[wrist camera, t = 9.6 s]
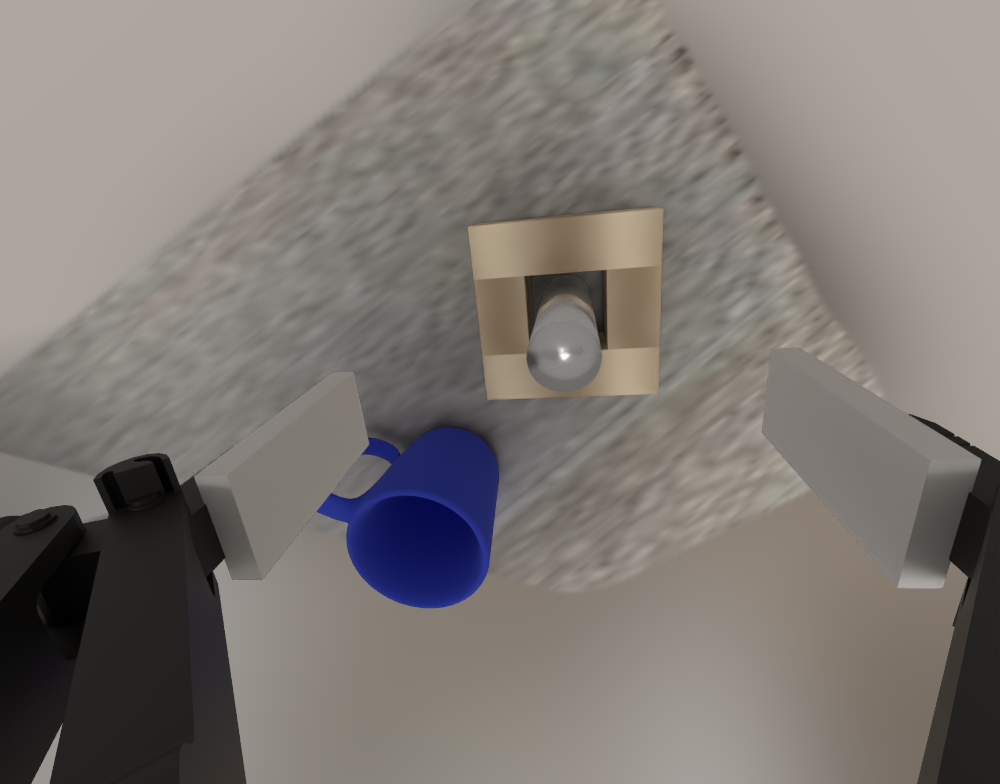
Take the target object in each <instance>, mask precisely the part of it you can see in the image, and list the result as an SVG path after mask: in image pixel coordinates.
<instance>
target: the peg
mask: <svg viewBox="0 0 1000 784" xmlns="http://www.w3.org/2000/svg"><path fill="white" fill-rule="evenodd" d="M526 360H527V365H528V369H529V371H530V373H531V375H532V376H533V378H534V379H535V380H536V381H537V382H538V383H539V384H540V385H542V386H543V387H545V388H547V389H549V390H552V391H555V392H573V391H576V390H579V389H581V388H583V387H585V386H586V385H588V384H589V383H590V382H591V381H592V380H593V379H594V378H595V377H596V375H597V373H598V371H599V369H600V366H601V362H602V351H601V346H600V341H599V336H598V331H597V325H596V320H595V315H594V310H593V305H592V300H591V295H590V291H589V288H588V286H587V285H586V284H585V282H584V281H582V280H581V279H580V278H578V277H576V276H572V275H562V276H559V277H556V278H554V279H553V280H552V281H550V282H549V284H548V285H547V286H546V288H545V290H544V293H543V296H542V300H541V303H540V307H539V310H538V314H537V317H536V321H535V324H534V328H533V331H532V335H531V338H530V342H529V345H528V349H527V354H526Z"/></svg>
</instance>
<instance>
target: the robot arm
mask: <svg viewBox="0 0 1000 784" xmlns="http://www.w3.org/2000/svg"><path fill="white" fill-rule="evenodd" d="M762 433H763V435H764V436H765V437H766V438H767V439H768V440H769V441H770V443H771V444H772V445H773V446H774V447H775V448H776V449H777V451H778V452H779V453H780V454H781V455H782V456H783V457H784V459H785V460H786V461H787V462H788V463H789V464H790V466H791V467H792V468H793V469H794V470H795V471H796V472H797V474H798V475H799V476H800V477H801V478H802V479H803V480H804V482H805V483H806V484H807V485H808V486H809V487H810V488H811V490H812V491H813V492H814V493H815V494H816V495H817V496H818V498H819V499H820V500H821V501H822V502H823V503H824V504H825V506H826V507H827V508H828V509H829V510H830V511H831V513H832V514H833V515H834V516H835V517H836V518H837V519H838V521H840V523H841V524H842V525H843V526H844V527H845V528H846V530H847V531H848V532H849V533H850V534H851V535H852V537H853V538H854V539H855V540H856V541H857V542H858V543H859V545H860V546H861V547H862V548H863V549H864V550H865V552H866V553H867V554H868V555H869V556H870V557H871V558H872V560H873V561H874V562H875V563H876V564H877V565H878V566H879V567H880V569H881V570H882V571H883V572H884V573H885V574H886V576H887V577H888V578H889V579H890V580H891V581H892V582H893V584H894V585H895V586H896V587H897V588H943V585H944V582H945V578H946V575H947V572H948V568H949V565H950V562H952V563H953V564H954V565H956V566H957V567H958V568H959V569H960V570H961V571H962V572H963V573H964V574H965V575H967V576H968V579H967V582H966V585H965V589H964V592H963V595H962V598H961V601H960V604H959V607H958V610H957V613H956V616H955V619H954V622H953V626H954V627H955V628H954V632H953V636H952V641H951V645H950V649H949V653H948V657H947V661H946V666H945V670H944V674H943V678H942V682H941V686H940V691H939V695H938V699H937V703H936V707H935V711H934V716H933V720H932V724H931V728H930V732H929V737H928V741H927V745H926V749H925V753H924V757H923V762H922V766H921V770H920V774H919V778H918V782H917V784H1000V461H999V460H997V459H995V458H994V457H992V456H990V455H989V454H987V453H985V452H984V451H982V450H980V449H979V448H977V447H975V446H970V443H968V442H967V441H965V440H963V439H962V438H960V437H958V436H957V437H955V436H954V434H953V433H951V432H950V431H948V430H946V429H945V428H943V427H941V426H940V425H938V424H936V423H934V422H931V421H928V420H925V419H922V418H920V417H917V416H914V415H911V414H907V413H905V412H903V411H902V410H900V409H898V408H897V407H895V406H894V405H892V404H890V403H889V402H887V401H885V400H884V399H882V398H881V397H879V396H877V395H876V394H874V393H872V392H871V391H869V390H867V389H866V388H864V387H863V386H861V385H859V384H858V383H856V382H854V381H853V380H851V379H849V378H848V377H846V376H845V375H843V374H841V373H840V372H838V371H836V370H835V369H833V368H831V367H830V366H828V365H827V364H825V363H823V362H822V361H820V360H818V359H817V358H815V357H814V356H812V355H810V354H809V353H807V352H805V351H804V350H802V349H800V348H781V349H771V354H770V363H769V372H768V381H767V389H766V398H765V407H764V416H763V425H762ZM368 445H369V440H368V436H367V431H366V426H365V422H364V417H363V412H362V408H361V403H360V398H359V394H358V389H357V384H356V380H355V375H354V371H351V372H332V373H331V374H330V375H328V376H327V377H326V378H324V379H323V380H322V381H320V382H319V383H318V384H316V385H315V386H314V387H312V388H311V389H310V390H308V391H307V392H306V393H304V394H303V395H302V396H300V397H299V398H298V399H296V400H295V401H294V402H292V403H291V404H290V405H288V406H287V407H286V408H284V409H283V410H282V411H280V412H279V413H278V414H276V415H275V416H274V417H272V418H271V419H270V420H268V421H267V422H266V423H264V424H263V425H262V426H260V427H259V428H258V429H256V430H255V431H254V432H252V433H251V434H250V435H248V436H247V437H246V438H244V439H243V440H242V441H240V442H239V443H238V444H236V445H235V446H233V447H232V448H230V449H229V450H228V451H226V452H225V453H224V454H222V455H221V456H220V457H219V458H217V459H215V460H214V461H213V462H211V463H210V464H209V465H208V466H207V467H205V468H203V469H202V470H201V471H199V472H198V473H197V474H195V475H194V476H193V477H191V478H190V479H189V480H187V481H186V482H185V483H183V484H182V485H181V486H180V485H179V482H178V479H177V477H176V474H175V472H174V469H173V466H172V464H171V461H170V459H169V457H168V456H167V455H166V454H160V453H157V454H147V455H142V456H138V457H134V458H131V459H128V460H125V461H122V462H119V463H117V464H115V465H113V466H110V467H108V468H106V469H105V470H103V471H102V472H100V473H99V474H98V475H97V476H96V477H95V478H94V483H95V485H96V487H97V489H98V491H99V494H100V496H101V498H102V500H103V502H104V504H105V506H106V509H107V511H108V513H109V516H108V519H104V520H99V521H94V522H89V523H84V524H83V523H82V521H81V519H80V517H79V515H78V513H77V511H76V509H75V508H74V507H73V506H68V505H62V506H55V507H50V508H47V509H43V510H42V509H38V510H35V511H32V512H30V513H28V514H25V515H22V516H6V517H2V518H0V784H31V783H32V781H33V779H34V777H35V775H36V773H37V771H38V769H39V767H40V766H41V764H42V762H43V760H44V758H45V755H46V754H47V752H48V750H49V748H50V746H51V744H52V742H53V740H54V738H55V736H56V734H57V732H58V731H59V728H60V727H61V725H62V723H63V725H62V729H61V734H60V738H59V743H58V747H57V752H56V757H55V761H54V766H53V770H52V775H51V780H50V784H246V778H245V770H244V764H243V756H242V750H241V743H240V735H239V728H238V721H237V714H236V707H235V701H234V694H233V686H232V679H231V673H230V665H229V658H228V651H227V644H226V637H225V630H224V623H223V616H222V609H221V602H220V595H219V588H218V583H217V580H216V578H215V575H214V572H213V570H214V569H215V568H216V567H217V566H218V565H219V564H220V563H221V562H222V561H223V559H225V562H226V564H227V567H228V570H229V572H230V575H231V578H232V580H263V579H264V578H265V576H266V575H267V574H268V573H269V571H270V570H271V569H272V567H273V566H274V565H275V564H276V562H277V561H278V560H279V559H280V557H281V556H282V555H283V553H284V552H285V551H286V550H287V548H288V547H289V546H290V545H291V543H292V542H293V541H294V539H295V538H296V537H297V536H298V534H299V533H300V532H301V531H302V529H303V528H304V527H305V525H306V524H307V523H308V522H309V520H310V519H311V518H312V517H313V515H314V514H315V513H316V511H317V510H318V509H319V508H320V506H321V505H322V504H323V503H324V501H325V500H326V499H327V498H328V496H329V495H330V494H331V492H332V491H333V490H334V489H335V487H336V486H337V485H338V484H339V482H340V481H341V480H342V478H343V477H344V476H345V475H346V473H347V472H348V471H349V470H350V468H351V467H352V466H353V464H354V463H355V462H356V461H357V459H358V458H359V457H360V456H361V454H362V453H363V452H364V450H365V449H366V448H367V447H368Z"/></svg>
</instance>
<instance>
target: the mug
mask: <svg viewBox="0 0 1000 784" xmlns="http://www.w3.org/2000/svg"><path fill="white" fill-rule="evenodd" d="M368 440H369V445H368V447H367V448H366V449H365V450H364V452H363V453H362V454H361V455H363V454H369V455H375V456H378V457H381V458H383V459H385V460H387V461H389V462H390V463H391V464H392V465H391V466H390V467H389V469H388V470H387V471H386V472H385V473H384V475H383V476H382V477H381V478H380V479H379V480H378V481H377V482H376V483H375V484H374V485H373V486H372V487H371V488H370V489H369V490H368V491H367V492H366V493H364V494H363V495H361V496H359V497H357V498H353V499H347V498H343V497H339V496H337V495H334V494H332V493H331V494H330V495H329V496H328V498H327V499H326V500H325V501H324V503H323V504H322V505H321V506H320V508H319V509H318V510H317V511H316V512H318V513H321V514H323V515H326V516H328V517H331V518H333V519H336V520H340V521H344V522H347V523H348V524H349V525H348V529H347V548H348V552H349V555H350V558H351V560H352V563H353V564H354V566H355V568H356V570H357V571H358V573H359V574H360V575H361V577H362V578H363V579H364V580H365V581H366V582H367V583H368V584H369V585H370V586H371V587H373V588H374V589H375V590H377V591H378V592H379V593H381V594H382V595H384V596H386V597H388V598H389V599H392V600H394V601H396V602H399V603H401V604H405V605H409V606H413V607H419V608H441V607H446V606H450V605H454V604H456V603H459V602H461V601H463V600H465V599H466V598H468V597H469V596H471V595H472V594H473V593H474V592H475V591H476V590H477V589H478V588H479V587H480V585H481V584H482V582H483V581H484V579H485V577H486V574H487V571H488V568H489V561H490V552H491V543H492V535H493V526H494V517H495V508H496V500H497V491H498V482H499V471H498V465H497V461H496V458H495V456H494V454H493V452H492V450H491V449H490V447H489V446H488V445H487V444H486V443H485V442H484V441H483V440H482V439H481V438H480V437H478V436H477V435H475V434H473V433H471V432H469V431H467V430H464V429H461V428H455V427H443V428H438V429H434V430H431V431H429V432H427V433H425V434H423V435H422V436H421V437H419V438H418V439H417V440H416V441H415V442H414V443H412V444H411V445H410V446H409V447H408V448H407V449H406V450H405V451H404V452H403V453H402V454H401V455H400V453H399V451H398V449H397V448H396V447H394V446H393V445H391V444H390V443H388V442H386V441H383V440H380V439H376V438H368Z"/></svg>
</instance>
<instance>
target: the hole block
mask: <svg viewBox="0 0 1000 784" xmlns="http://www.w3.org/2000/svg"><path fill="white" fill-rule="evenodd" d="M468 233H469V242H470V251H471V259H472V268H473V277H474V286H475V295H476V304H477V313H478V322H479V331H480V340H481V349H482V358H483V366H484V375H485V384H486V393H487V400H497V399H526V398H554V397H583V396H611V395H639V394H658V384H659V349H660V313H661V277H662V241H663V208H657V207H644V208H634V209H623V210H613V211H602V212H592V213H581V214H571V215H561V216H550V217H540V218H529V219H519V220H508V221H498V222H487V223H479V224H476V225H472V226H469V227H468ZM597 270H602V281H603V331H602V332H598V336H599V341H600V346H601V351H602V362H601V366H600V369H599V371H598V373H597V375H596V377H595V378H594V379H593V380H592V381H591V382H590V383H589V384H588V385H586V386H585V387H583V388H581V389H579V390H576V391H573V392H555V391H552V390H549V389H547V388H545V387H543V386H542V385H540V384H539V383H538V382H537V381H536V380H535V379H534V378H533V376H532V375H531V373H530V371H529V369H528V365H527V360H526V354H527V349H528V345H529V342H530V338H531V335H532V331H533V328H534V319H533V305H532V290H531V276H532V275H545V274H558V273H571V272H584V271H597Z"/></svg>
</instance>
